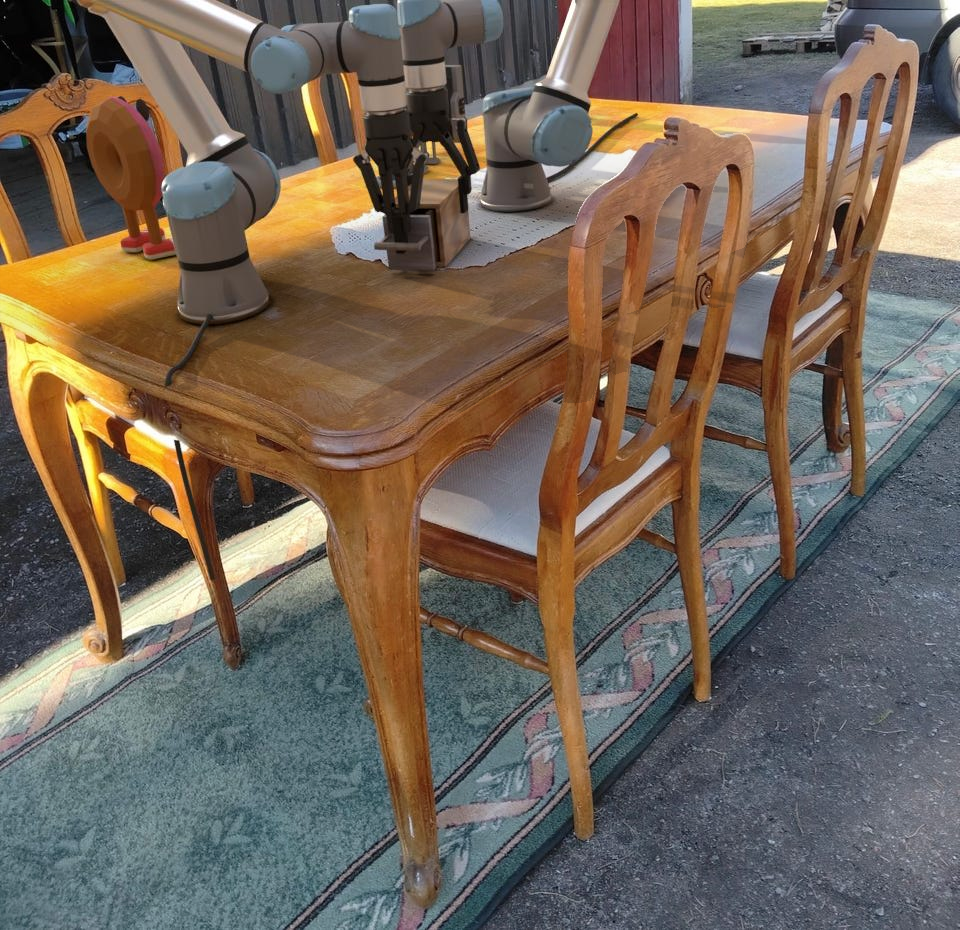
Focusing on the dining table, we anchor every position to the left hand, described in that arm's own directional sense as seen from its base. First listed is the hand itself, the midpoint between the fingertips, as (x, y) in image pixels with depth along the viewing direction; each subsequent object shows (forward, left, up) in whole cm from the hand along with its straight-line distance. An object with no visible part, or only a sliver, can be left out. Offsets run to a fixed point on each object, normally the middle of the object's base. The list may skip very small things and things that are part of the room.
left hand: (402, 250), depth 169 cm
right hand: (+21, 0, +1) cm, 21 cm away
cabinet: (+16, 0, -6) cm, 17 cm away
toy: (+12, +59, -6) cm, 61 cm away
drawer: (+8, 0, -5) cm, 9 cm away
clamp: (+77, +25, -6) cm, 81 cm away
